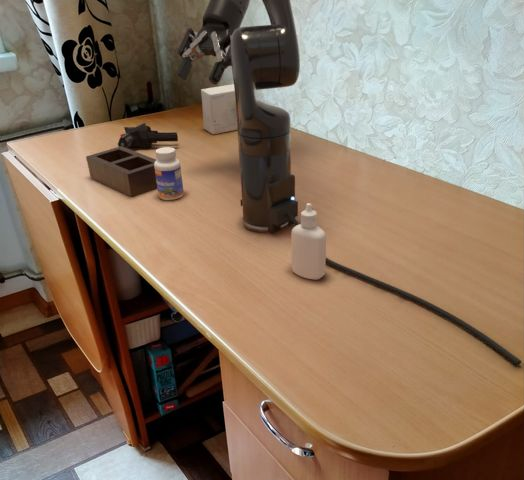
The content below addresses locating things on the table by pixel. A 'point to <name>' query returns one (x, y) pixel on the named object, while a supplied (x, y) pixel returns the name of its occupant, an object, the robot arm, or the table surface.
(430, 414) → the table surface
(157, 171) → the pill bottle
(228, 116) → the cosmetics box
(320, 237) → the eye dropper bottle
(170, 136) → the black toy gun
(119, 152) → the rack
